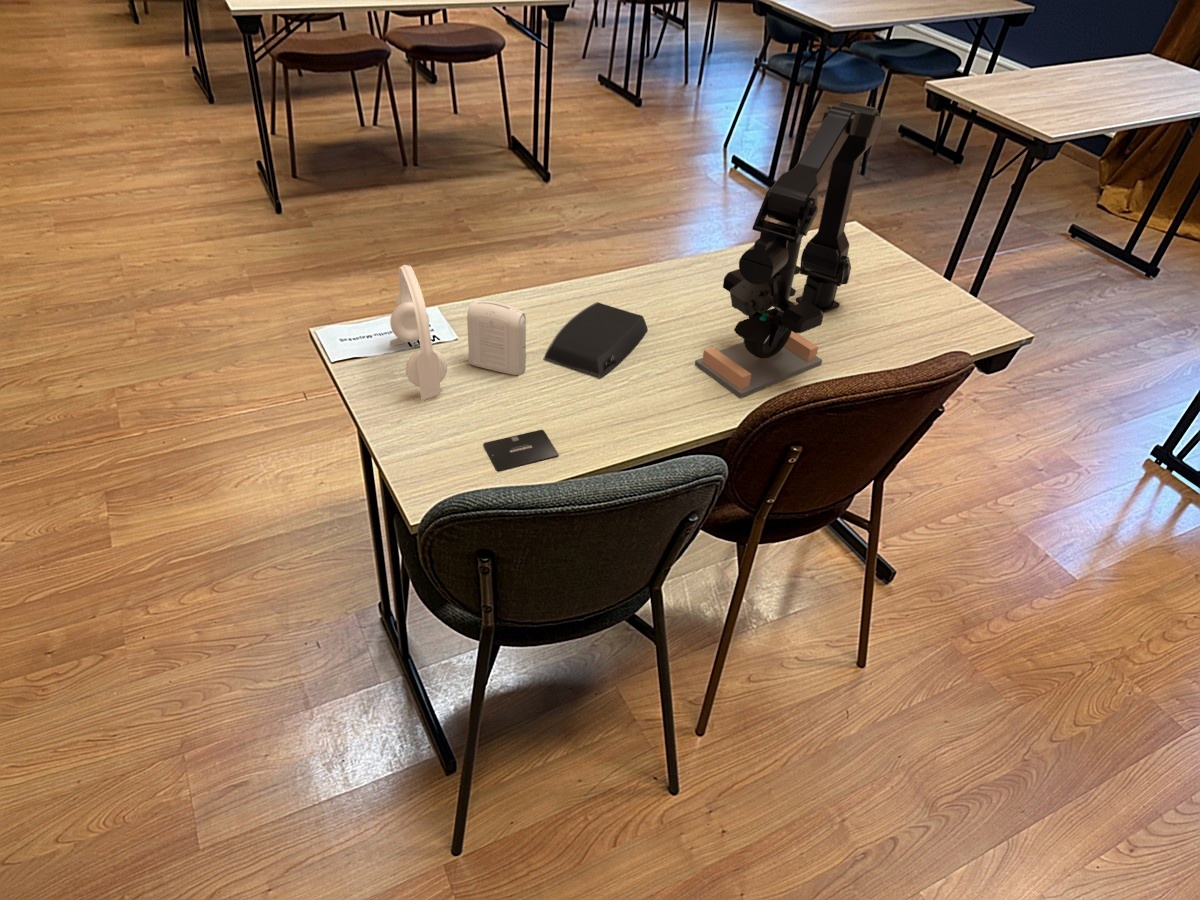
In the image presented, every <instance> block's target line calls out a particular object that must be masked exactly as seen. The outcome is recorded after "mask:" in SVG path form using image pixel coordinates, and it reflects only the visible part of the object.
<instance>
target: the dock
mask: <svg viewBox="0 0 1200 900" xmlns="http://www.w3.org/2000/svg"><path fill="white" fill-rule="evenodd" d="M769 336H770V335H769ZM769 336H768V337H767V339H766V340H765V342H766V341H767V340H768V338H769ZM765 342H764V343H765ZM818 350H819V346H818V345H816V344H815V343H814V342H811V341H810V340H808V339H807V338H806V337H804V336H802V335H801V334H800V333H794V332H793V331H792V332H791V335H790V337H789V339H788V341H787V343H786V344H785V346H784V347H783V348H782V349H781V350H780V351H779V352H778V353H777V354H775V355H774V356H772V357H769V358H758V357H756V356H754V355H753V354H751V353H750V352H749V351H748V350H747V349H746V347H745V344H744V341H743V342H741V343H738V344H735V345H733V346H729V347H727V348H725V349H722V350H718V349H717V348H715V347H713V346H711V347H708V348H705V349H704V350H703V355H702V357H700V358H698V359H695V361H694V366H696V367H697V369H699V370H700V371H702V372H703V373H705V374H706V375H708V376H709V377H710V378H711V379H713V380H714V381H716V382H717V383H719V384H720V385H721V386H723V387H724V388H725V389H726V390H728V391H729V392H731V394H734V395H735V396H736V397H738V398H739V399H740V398H741V399H743V398H745V397H747V396H750V395H752V394H754V393H757V392H760V391H762V390H764V389H766V387H767V388H768V387H771V386H774V385H776V384H779V383H781V382H783V381H785V380H787V379H790V378H792V377H795V376H798V375H800V374H802V373H805V372H807V371H810V370H812V369H814V368H816V367H817V368H818V367H819V366H822V363H823V359H822V358H820V357H819V356H817V354H818ZM780 381H781V382H780ZM778 382H779V383H778ZM773 384H774V385H773Z"/></svg>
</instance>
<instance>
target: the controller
mask: <svg viewBox="0 0 1200 900" xmlns="http://www.w3.org/2000/svg"><path fill="white" fill-rule="evenodd" d="M777 313H779V312H778V309H776V308H774V307H772V308H770V309H768V310H767V311H766V312H764V313H763V314H759V315H756V316H754V317H751V318H749V317H748V318H745V319H743V320H740V321H738V323H736V325H735V327H734V333H735V334H736V335H738V337H741V339H743V342H744V344H745V347H746V349H747V350H748V351H749V352H750V353H751V354H753V355H754V356H756V357H758V358H769V357H772V356H774V355H775V354H777V353H778V352H779V351H780V350H781V349H782V348H783V347H784V346H785V344H786V343H787V341H788V339H789V337H790V335H791V332H792V331H791V330H790V329H788V330H787V331H786V332H785V333H784V335H783V336H782V337H781V338H780V340H779V341H778V342H777V344H776V345H775V346H774V347H771V348H770V347H769V338H770V336H769V335H770V333H771V327H772V323H771V322H770V320H769V319H768V318H770V317H773V316H776V315H777ZM768 336H769V338H768V340H767V341H766V342H765V340H766V339H767V337H768ZM764 342H765V343H764Z"/></svg>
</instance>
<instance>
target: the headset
mask: <svg viewBox="0 0 1200 900" xmlns="http://www.w3.org/2000/svg"><path fill="white" fill-rule="evenodd" d="M398 291H399V293H398V294H397V295H396V298H395V299H396V300H395V302H396V303H395V305H396V307H395V308H394V309H393V311H392V313H391V316H390V319H389V322H390V328H391V331H392V332H393V334H394V335H395V337H396V338H393V339H391V340H389V345H390V346H391V347H393V346H398V345H401V344H403V345H404V344H405V343H413V342H417V341H419V350H416V351H415V352H413V353H412V354H411V355H410V356H409V357H408V360H407V361H406V364H405V365H406V366H405V375H406V376H407V379H408V380H409V382H410V383H411V384H412V385H414V386H416V387H418V388H419V394H420V398H421V401H422V402H423V401H425V400H429V399H431V398H433V397H436V395H439V394H440V392H441V383H442V381H443V380H444V379H445V377H446V375H447V372H448V363H447V360H446V357H445V356H444V355H443V354H442V353H441V352H440V351H438V350H436V349H433V344H432V335H431V329H430V318H429V315H428V312H427V307H426V303H425V299H424V295H423V291H422V290H421V286H420V283H419V281H418V279H417V276H416V273H415V271H414V269H413V267H412V266H411V265H407V264H403V265H402V266H399V267H398ZM392 345H393V346H392Z"/></svg>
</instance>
